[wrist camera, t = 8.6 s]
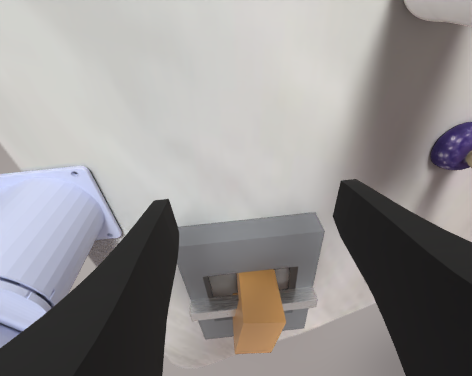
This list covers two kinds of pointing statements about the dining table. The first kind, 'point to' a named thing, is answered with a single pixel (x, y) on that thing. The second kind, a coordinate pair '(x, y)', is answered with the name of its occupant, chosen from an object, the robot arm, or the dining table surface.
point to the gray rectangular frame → (249, 258)
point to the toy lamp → (454, 148)
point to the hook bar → (228, 304)
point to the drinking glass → (442, 10)
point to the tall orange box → (257, 312)
